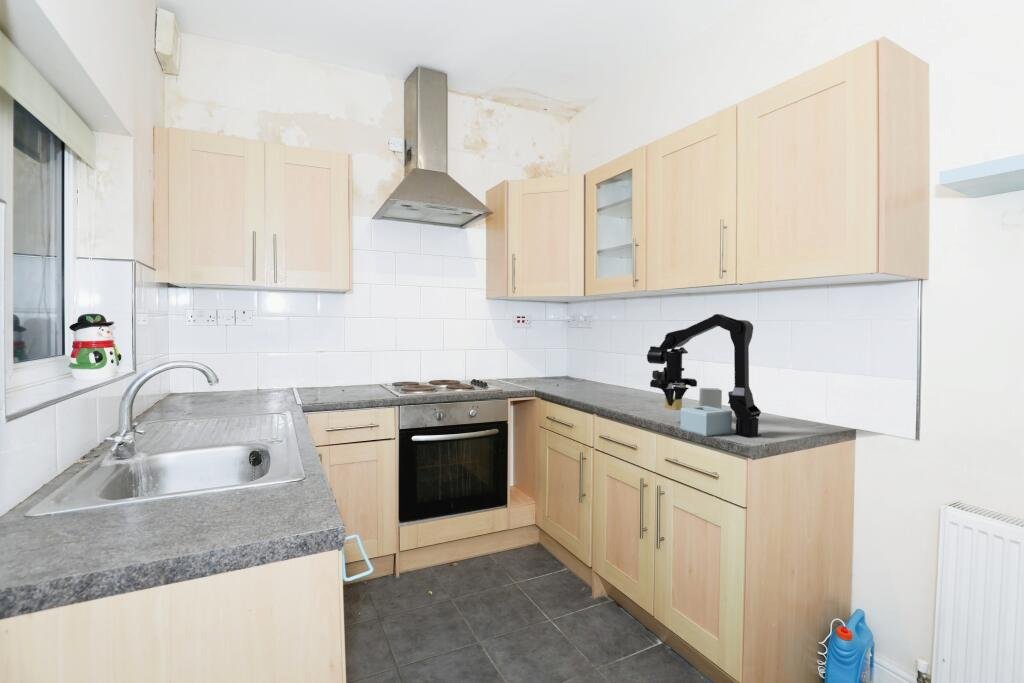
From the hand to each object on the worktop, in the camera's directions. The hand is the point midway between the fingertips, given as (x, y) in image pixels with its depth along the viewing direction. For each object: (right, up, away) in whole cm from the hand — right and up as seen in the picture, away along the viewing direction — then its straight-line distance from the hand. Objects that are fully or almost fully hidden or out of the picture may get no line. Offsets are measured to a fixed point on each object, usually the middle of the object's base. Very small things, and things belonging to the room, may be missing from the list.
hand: (673, 405), depth 195 cm
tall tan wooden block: (0, -1, 0) cm, 1 cm away
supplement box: (+17, -7, +8) cm, 20 cm away
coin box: (+7, -8, -14) cm, 18 cm away
